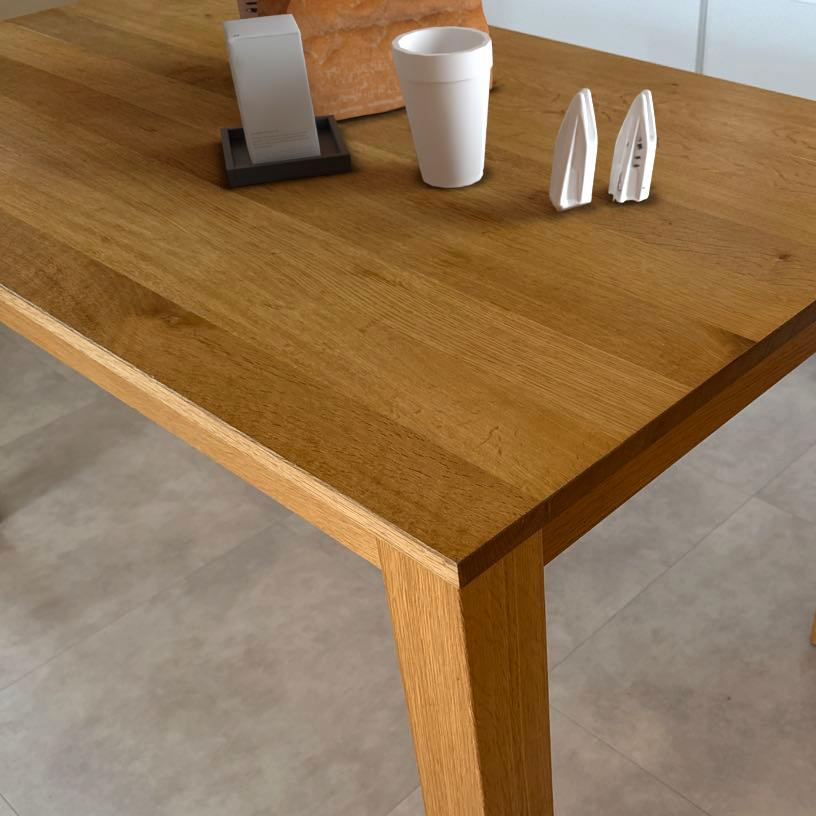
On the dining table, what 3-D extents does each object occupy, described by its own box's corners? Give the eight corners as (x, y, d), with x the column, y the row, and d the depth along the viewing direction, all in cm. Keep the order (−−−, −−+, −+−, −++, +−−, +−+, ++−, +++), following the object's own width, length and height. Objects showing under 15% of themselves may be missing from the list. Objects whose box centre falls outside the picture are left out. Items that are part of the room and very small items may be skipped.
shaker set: (556, 226, 95) (555, 105, 87) (535, 210, 97) (532, 91, 90) (663, 198, 99) (670, 80, 91) (639, 184, 101) (644, 68, 94)
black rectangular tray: (230, 187, 103) (226, 170, 102) (223, 144, 112) (219, 128, 111) (352, 171, 106) (350, 154, 105) (336, 130, 115) (333, 114, 114)
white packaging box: (322, 160, 107) (301, 31, 98) (252, 169, 105) (223, 39, 97) (314, 136, 112) (293, 11, 104) (246, 144, 111) (219, 19, 102)
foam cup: (422, 155, 109) (409, 24, 100) (506, 160, 107) (500, 28, 98) (395, 191, 102) (379, 53, 93) (484, 196, 100) (476, 57, 91)
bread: (257, 101, 123) (229, -38, 113) (455, 63, 132) (445, -69, 122) (295, 136, 114) (268, -12, 104) (504, 92, 123) (498, -48, 113)
